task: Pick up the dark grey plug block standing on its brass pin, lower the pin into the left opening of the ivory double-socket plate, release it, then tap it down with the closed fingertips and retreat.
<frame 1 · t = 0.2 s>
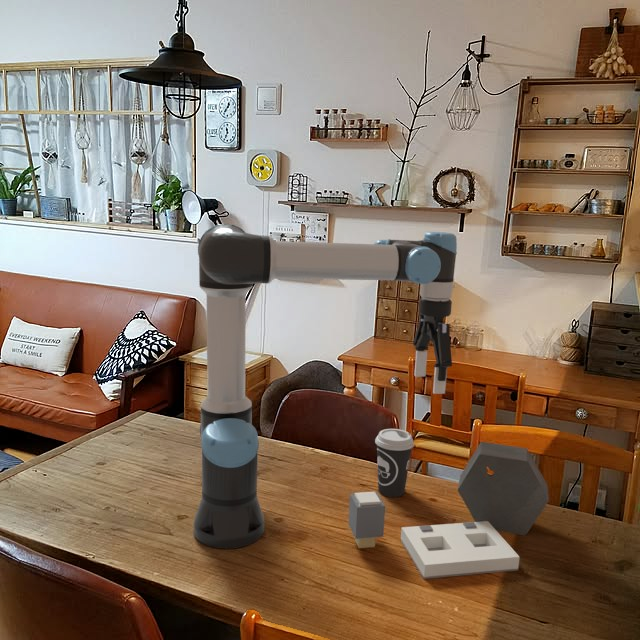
hand: (428, 384, 156), 28 cm above the table, fingers open, 13 cm apart
coffee cup: (391, 491, 160), on the table
grey hexagonal prism: (498, 523, 147), on the table
socket plate: (457, 554, 134), on the table
plug: (364, 543, 137), on the table
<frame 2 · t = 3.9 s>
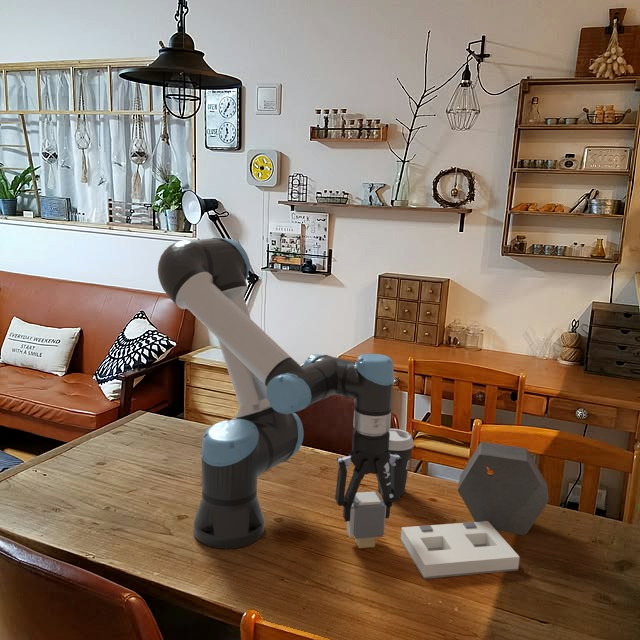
hand: (365, 532, 136), 2 cm above the table, fingers closed on plug, 6 cm apart
plug: (364, 542, 137), on the table, touching gripper
everything else where it was.
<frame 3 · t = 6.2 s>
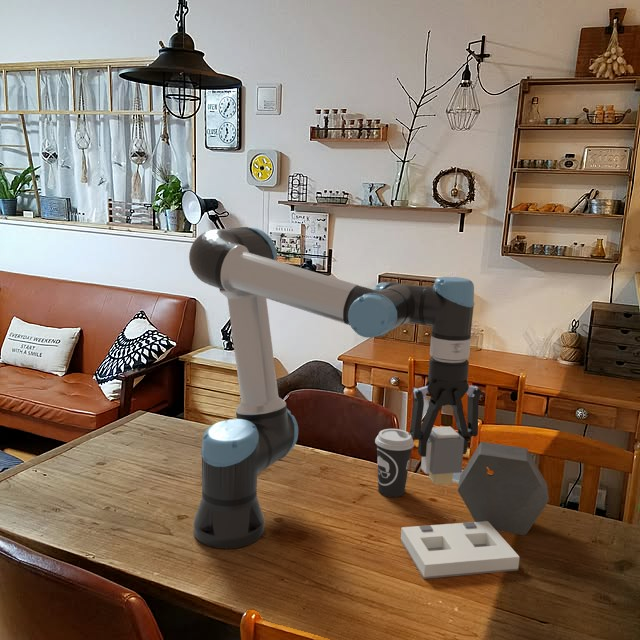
hand: (441, 469, 128), 19 cm above the table, fingers closed on plug, 6 cm apart
plug: (440, 480, 129), point 17 cm above the table, touching gripper
everything else where it was.
when the fingers open (4 cm above the table, at t = 8.7 s): plug drops 1 cm, resting on socket plate.
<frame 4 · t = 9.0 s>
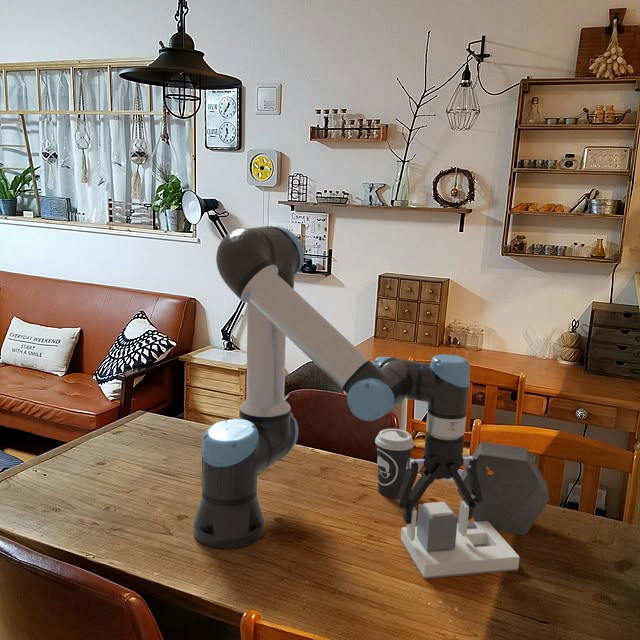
hand: (436, 535, 132), 5 cm above the table, fingers open, 10 cm apart
plug: (434, 554, 132), resting on socket plate
everything else where it was.
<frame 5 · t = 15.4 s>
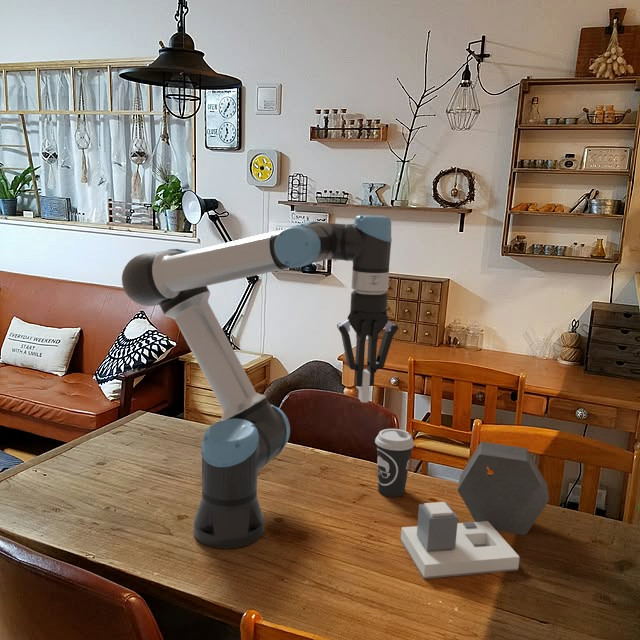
hand: (363, 400, 137), 29 cm above the table, fingers closed
nothing on the table moved.
at the end: plug 0.1 cm from the target spot on the socket plate, point 0.4 cm above the socket plate's base; plug tilted 0°; the gripper is holding nothing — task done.
